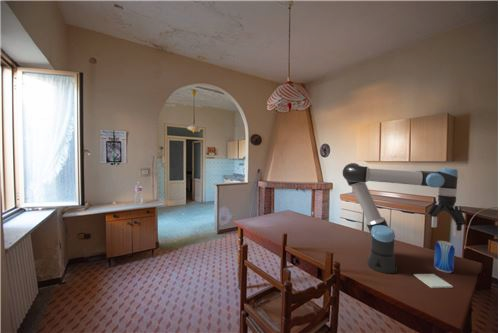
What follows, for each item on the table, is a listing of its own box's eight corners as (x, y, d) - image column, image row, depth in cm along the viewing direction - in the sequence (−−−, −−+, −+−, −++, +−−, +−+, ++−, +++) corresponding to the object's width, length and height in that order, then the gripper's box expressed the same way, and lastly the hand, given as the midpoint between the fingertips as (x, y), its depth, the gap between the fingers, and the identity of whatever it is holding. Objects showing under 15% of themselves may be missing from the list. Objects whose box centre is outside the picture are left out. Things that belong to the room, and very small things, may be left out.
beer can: (433, 264, 128) (434, 238, 127) (452, 269, 123) (454, 242, 122) (434, 270, 121) (435, 243, 120) (454, 275, 116) (455, 247, 115)
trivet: (431, 288, 105) (431, 286, 105) (413, 275, 116) (413, 274, 116) (452, 287, 105) (452, 286, 105) (433, 275, 116) (433, 273, 116)
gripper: (477, 199, 108) (474, 240, 109) (433, 191, 133) (431, 224, 134) (463, 199, 107) (461, 240, 109) (422, 191, 132) (420, 224, 134)
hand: (444, 231), depth 121 cm, fingers open, 13 cm apart
